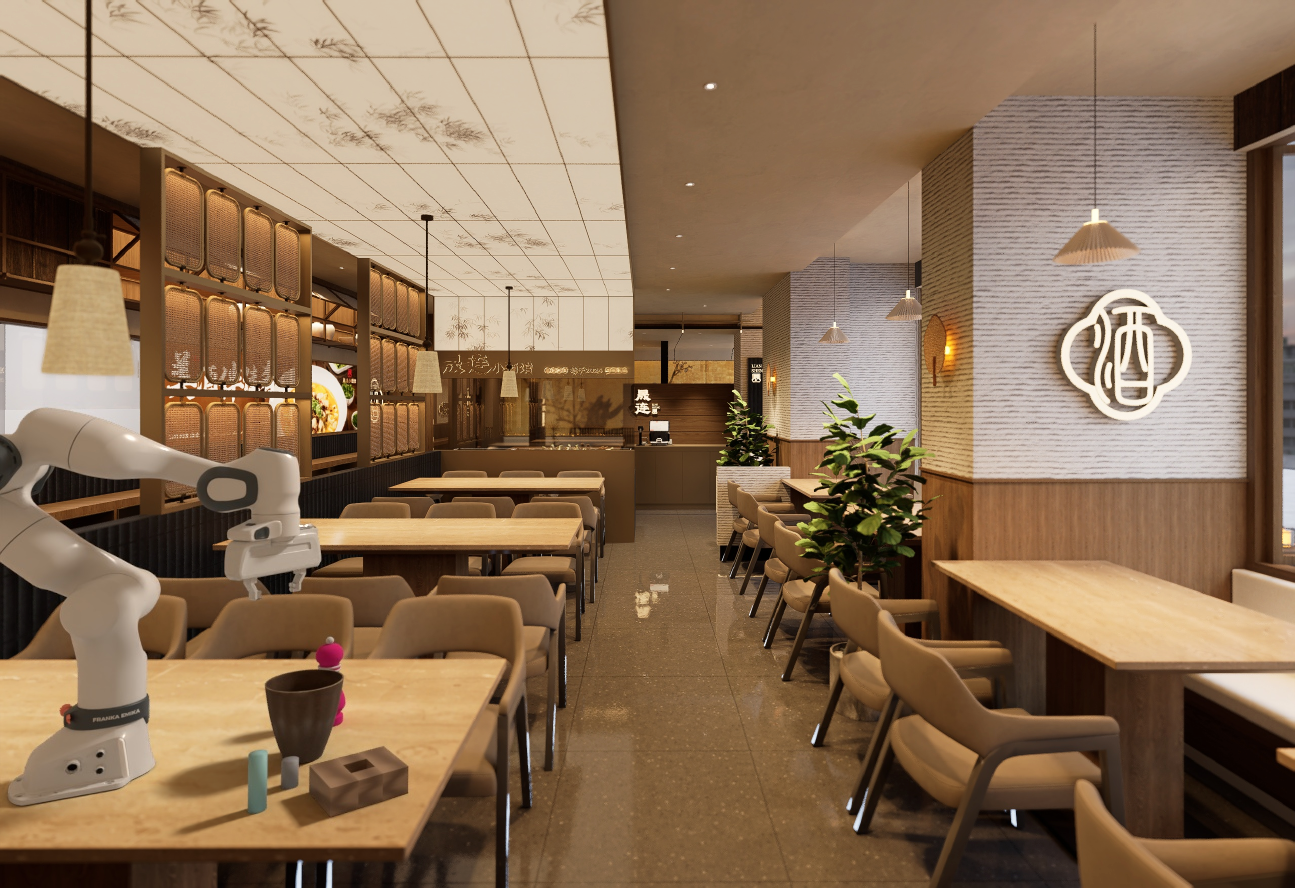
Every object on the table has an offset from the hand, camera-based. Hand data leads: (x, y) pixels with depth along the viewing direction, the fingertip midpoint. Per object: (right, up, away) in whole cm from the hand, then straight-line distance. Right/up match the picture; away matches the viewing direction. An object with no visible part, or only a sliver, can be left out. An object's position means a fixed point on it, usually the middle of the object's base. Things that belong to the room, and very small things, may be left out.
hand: (275, 595), depth 149 cm
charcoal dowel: (+8, -34, -9) cm, 36 cm away
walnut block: (+22, -34, -12) cm, 42 cm away
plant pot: (+4, -34, +3) cm, 35 cm away
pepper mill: (+1, -34, +22) cm, 41 cm away
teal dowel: (+6, -34, -19) cm, 39 cm away
